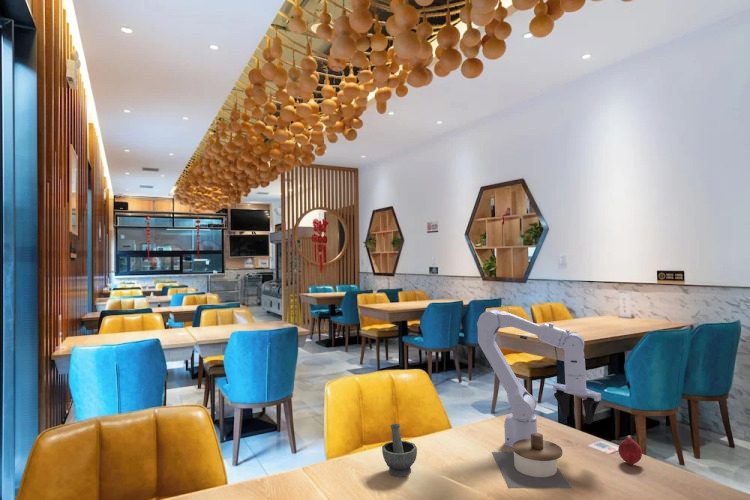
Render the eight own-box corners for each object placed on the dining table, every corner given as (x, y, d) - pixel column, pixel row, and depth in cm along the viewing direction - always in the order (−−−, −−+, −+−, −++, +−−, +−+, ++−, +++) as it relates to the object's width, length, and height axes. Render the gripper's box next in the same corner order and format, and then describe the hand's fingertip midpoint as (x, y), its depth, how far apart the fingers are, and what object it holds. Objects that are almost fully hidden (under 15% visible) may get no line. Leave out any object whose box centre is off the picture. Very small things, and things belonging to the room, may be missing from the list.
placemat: (508, 489, 115) (508, 487, 115) (491, 453, 137) (491, 451, 137) (572, 489, 114) (572, 487, 114) (544, 453, 136) (544, 451, 136)
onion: (645, 470, 123) (644, 440, 124) (623, 468, 124) (621, 439, 125) (638, 461, 129) (636, 432, 129) (616, 459, 130) (614, 431, 130)
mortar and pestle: (420, 478, 122) (419, 433, 123) (387, 481, 121) (385, 436, 121) (410, 460, 134) (409, 419, 134) (379, 463, 132) (378, 422, 132)
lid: (503, 448, 128) (502, 432, 128) (533, 438, 135) (533, 423, 135) (541, 465, 117) (540, 448, 117) (572, 452, 124) (571, 436, 124)
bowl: (506, 467, 126) (506, 450, 126) (528, 456, 133) (528, 439, 133) (543, 481, 118) (542, 463, 118) (564, 468, 125) (563, 451, 125)
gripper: (546, 371, 139) (548, 416, 138) (590, 380, 127) (592, 429, 126) (560, 368, 143) (562, 411, 142) (604, 376, 130) (606, 424, 130)
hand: (577, 419), depth 134 cm, fingers open, 7 cm apart
